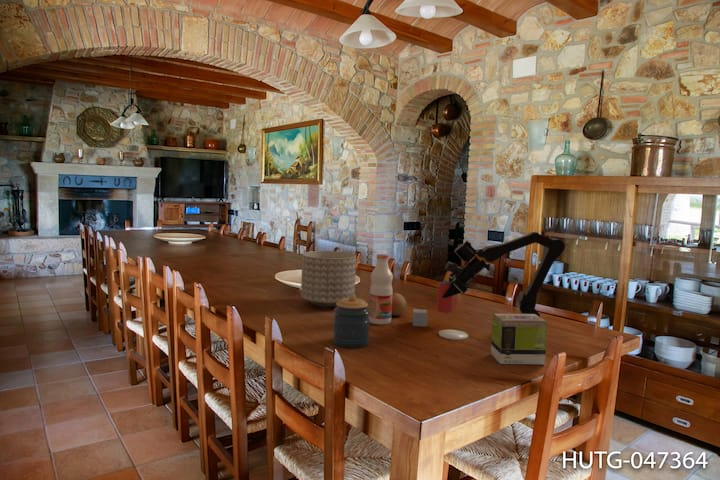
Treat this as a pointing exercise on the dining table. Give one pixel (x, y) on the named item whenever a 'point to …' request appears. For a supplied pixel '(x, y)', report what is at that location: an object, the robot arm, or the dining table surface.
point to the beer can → (444, 303)
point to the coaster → (453, 334)
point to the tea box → (518, 338)
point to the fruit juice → (381, 292)
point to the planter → (327, 277)
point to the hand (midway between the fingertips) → (442, 295)
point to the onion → (398, 304)
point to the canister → (351, 323)
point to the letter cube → (419, 317)
